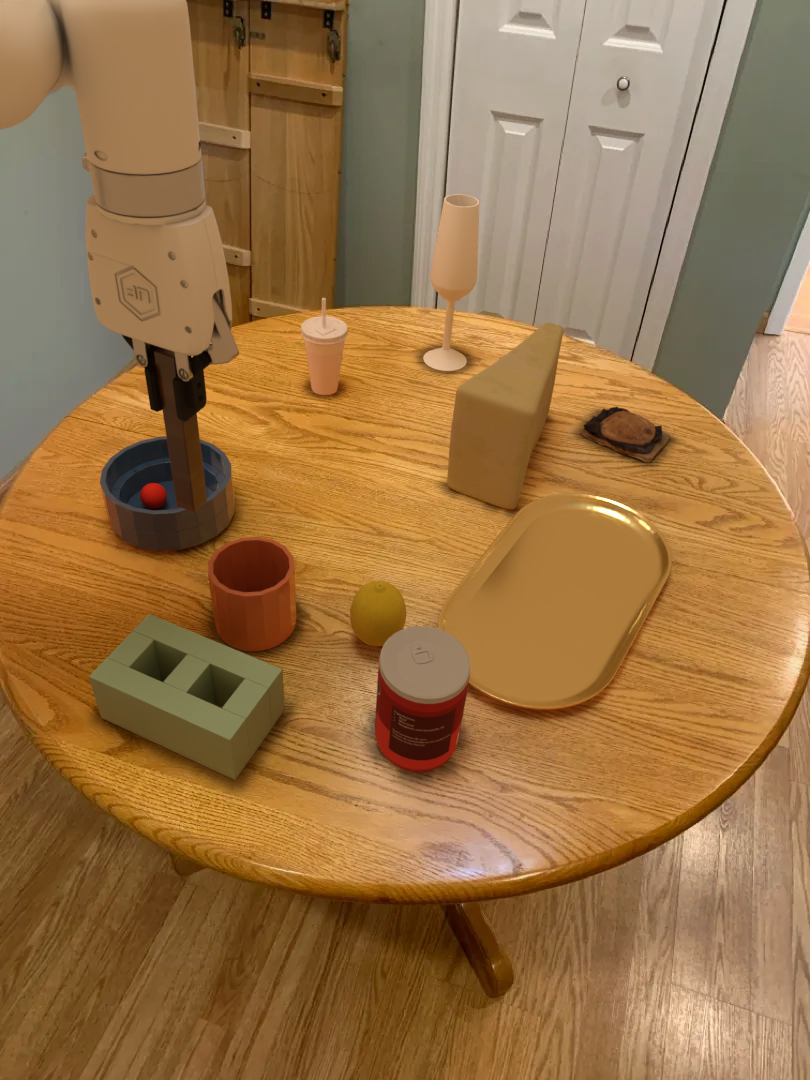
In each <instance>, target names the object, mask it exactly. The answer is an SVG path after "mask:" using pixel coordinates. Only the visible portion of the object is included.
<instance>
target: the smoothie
mask: <svg viewBox="0 0 810 1080" xmlns="http://www.w3.org/2000/svg"><path fill="white" fill-rule="evenodd" d="M348 328H349V327H348V325H347V323H346V322H345V321H344V320H342V319H340V318H338V317H333V316H329V315H327V298H326V297H322V298H321V315H318V316H313V317H309V318H307V319H305V320H304V321H303V322H302V323H301V325H300V335H301V337H302V338H303V342H304V348H305V353H306V361H307V362H306V363H307V368H308V374H309V381H310V387H311V391H312V392H313V393H314V394H316V395H320V396H330V395H333V394H336V393H337V391H338V388H339V381H340V375H341V368H342V361H343V354H344V348H345V341H346V339H347V338H348V335H349V331H348Z"/></svg>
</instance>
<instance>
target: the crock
mask: <svg viewBox="0 0 810 1080" xmlns="http://www.w3.org/2000/svg"><path fill="white" fill-rule="evenodd" d="M207 575H208V583H209V591H210V599H211V606H212V613H213V621H214V627H215V631H216V633H217V635H218V637H220V639H221V640H222V641H223V642H224V644H227V646H229V647H230V648H233V649H235V650H238V651H244V652H262V651H267V650H271V649H273V648H276V647H277V646H279V645H281V644H283V643H284V642H285V641H287V640H288V639H289V638H290V636H291V635H292V634H293V632H294V631H295V628H296V624H297V595H296V594H297V593H296V568H295V557H294V555H293V554H292V553H291V551H290V550H289V549H288V547H287V546H285V545H284V544H282V543H280V542H279V541H277V540H275V539H271V538H266V537H262V536H246V537H245V536H244V537H240V538H237V539H234V540H231V541H228V542H225V544H223V545H222V546H220V547H219V548H217V549H216V550H215V551H214V552H213V553H212V555H211V557H210V559H209V560H208V562H207Z"/></svg>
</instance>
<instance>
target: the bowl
mask: <svg viewBox="0 0 810 1080" xmlns="http://www.w3.org/2000/svg"><path fill="white" fill-rule="evenodd" d="M200 445H201V454H202V462H203V471H204V479H205V488H206V496H207V502H206V503H205V504H203V505H202V506H201V507H200V508H199V509H198V510H197V511H196V512H195V513H194V512H191V511H189V510H186V509H183V508H181V507H178V506H177V503H176V497H175V490H174V483H173V477H172V470H171V463H170V457H169V450H168V443H167V437H166V435H164V436H155V437H152V438H147V439H142V440H139V441H137V442H134V443H132V444H130V445H128V446H125V447H123V448H122V449H120V450H119V451H118V452H116V453H115V454H113V455H112V456H111V457H109V459H108V461H106V463H105V464H104V466H103V467H102V469H101V472H100V477H99V478H100V479H99V484H100V489H101V493H102V499H103V503H104V506H105V511H106V515H107V516H106V517H107V520H108V522H109V525H110V527H111V530H112V532H113V533H114V534H115V535H117V536H118V537H119V538H120V539H121V540H122V541H123V542H125V543H127V544H129V545H132V546H134V547H137V548H138V549H142V550H148V551H149V550H151V551H155V552H167V551H169V552H170V551H181V550H185V549H188V548H192V547H197V546H200V545H202V544H205V542H207V541H209V540H211V539H213V538H215V537H217V536H219V534H221V533H222V532H223V531H224V530H225V529H226V528H227V527H228V526H229V525H230V523H231V521H232V519H233V518H234V517H233V516H234V515H235V513H236V505H235V504H236V503H235V502H236V500H235V499H236V498H235V489H234V480H233V479H234V478H233V468H232V463H231V461H230V460H229V458H228V456H227V454H226V453H225V452H224V451H223V450H222V449H220V448H219V447H217V446H216V445H215V444H214V443H211V442H208V441H205V440H204V439H201V438H200ZM150 483H157V484H160V485H161V486H163V487H164V489H165V490H166V493H167V500H166V502H165V504H164V505H163V506H162V507H160V508H157V509H150V508H147V507H146V506H144V505H143V503H142V502H141V499H140V492H141V490H142V488H143V487H144V486H145V485H147V484H150Z"/></svg>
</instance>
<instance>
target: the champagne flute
mask: <svg viewBox="0 0 810 1080" xmlns="http://www.w3.org/2000/svg"><path fill="white" fill-rule="evenodd" d="M479 223H480V200H479V199H478V198H476V197H475V196H472V195H470V194H469V195H468V194H463V193H454V194H448V195H446V196H445V197H444V198H443V203H442V208H441V214H440V219H439V223H438V230H437V236H436V240H435V246H434V253H433V257H432V263H431V269H430V273H429V279H430V280H429V281H430V283H431V285H432V288H433V289H434V290H435V292H436V293H438V295H439V296H440V297H441V298H443V300H445V301H446V307H445V317H444V326H443V336H442V346H441V347H437V348H434V349H431V350H429V351H426V352H425V353H424V355H423V357H422V359H423V362H424V364H426V365H427V366H428V367H430V368H432V369H434V370H438V371H444V372H452V371H458V370H461V369H462V368H464V367H465V366H466V365H467V362H468V361H467V360H468V359H467V358H466V356H465V355H464V354H463V353H461V352H459V351H458V350H456V349H453V348H452V347H451V345H452V343H451V342H452V335H453V334H452V333H453V325H454V317H455V316H454V315H455V308H456V307H455V306H456V302H458V301H460V300H461V299H463V298H465V297H466V296H467V295H469V294H470V293H471V292H472V291H473V289H474V288H475V287H476V285H477V282H478V264H479V263H478V262H479V259H478V258H479V229H480V228H479Z"/></svg>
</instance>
